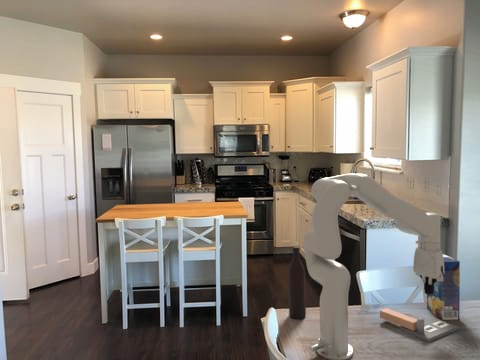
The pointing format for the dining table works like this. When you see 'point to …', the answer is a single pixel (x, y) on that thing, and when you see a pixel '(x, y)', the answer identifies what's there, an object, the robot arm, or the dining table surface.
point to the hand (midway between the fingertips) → (429, 293)
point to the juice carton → (446, 292)
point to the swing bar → (399, 318)
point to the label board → (431, 328)
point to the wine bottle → (296, 287)
